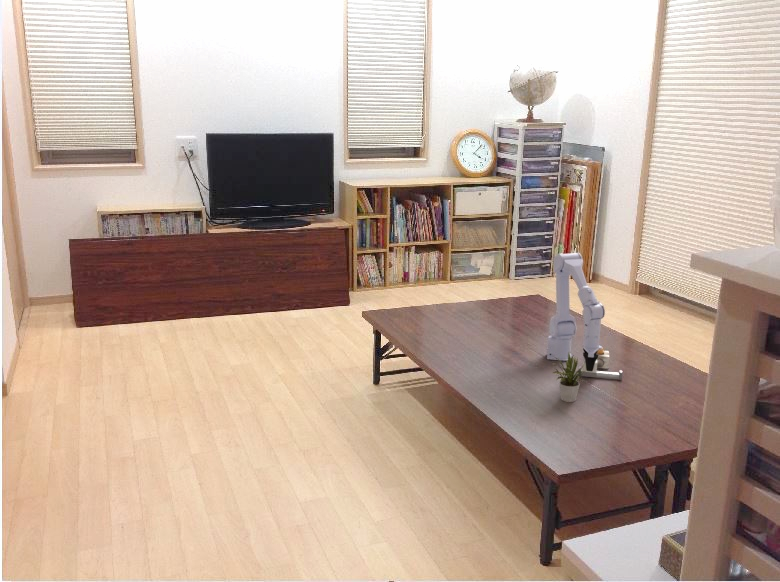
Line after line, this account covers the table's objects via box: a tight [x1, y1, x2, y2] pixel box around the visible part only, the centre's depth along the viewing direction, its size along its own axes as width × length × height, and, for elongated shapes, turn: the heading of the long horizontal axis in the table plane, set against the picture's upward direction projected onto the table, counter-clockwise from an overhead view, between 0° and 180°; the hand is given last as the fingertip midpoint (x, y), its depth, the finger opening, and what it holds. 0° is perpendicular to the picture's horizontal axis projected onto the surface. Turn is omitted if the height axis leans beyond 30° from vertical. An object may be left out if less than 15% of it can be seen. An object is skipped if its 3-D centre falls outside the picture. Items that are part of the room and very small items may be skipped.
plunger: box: [597, 347, 604, 354], centre depth 282 cm, size 2×2×2 cm
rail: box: [577, 365, 623, 381], centre depth 271 cm, size 16×3×3 cm, turn 75°
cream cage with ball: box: [597, 350, 610, 369], centre depth 282 cm, size 7×7×5 cm
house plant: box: [551, 352, 586, 403], centre depth 250 cm, size 14×14×16 cm
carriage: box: [582, 357, 598, 378], centre depth 271 cm, size 5×4×6 cm
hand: (589, 368), depth 271 cm, fingers closed on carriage, 4 cm apart
